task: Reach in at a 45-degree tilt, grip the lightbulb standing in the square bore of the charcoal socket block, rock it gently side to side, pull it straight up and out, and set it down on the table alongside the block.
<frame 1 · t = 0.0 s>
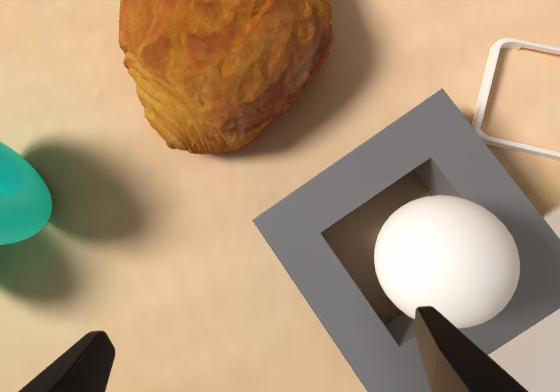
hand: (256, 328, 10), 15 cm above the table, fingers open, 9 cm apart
socket block: (397, 245, 24), on the table
cyan rounded piece: (5, 215, 27), on the table
lightbulb: (397, 244, 24), resting in socket block
croissant: (228, 55, 26), on the table
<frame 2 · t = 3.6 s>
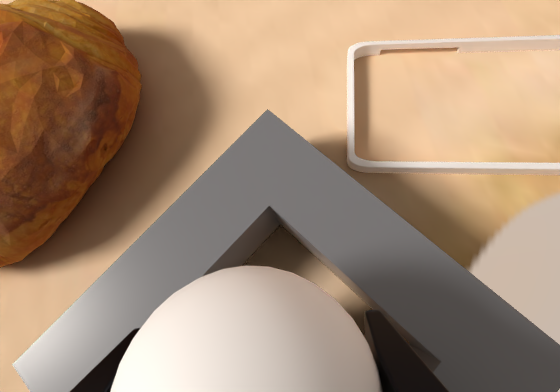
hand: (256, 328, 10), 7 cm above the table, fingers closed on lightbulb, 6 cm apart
socket block: (283, 344, 16), on the table
lightbulb: (284, 344, 16), resting in socket block, touching gripper
phone case: (487, 114, 18), on the table
croissant: (37, 138, 21), on the table
when the fingers open (7 cm above the table, at t = 10.3 s): lightbulb stays where it is, on the table.
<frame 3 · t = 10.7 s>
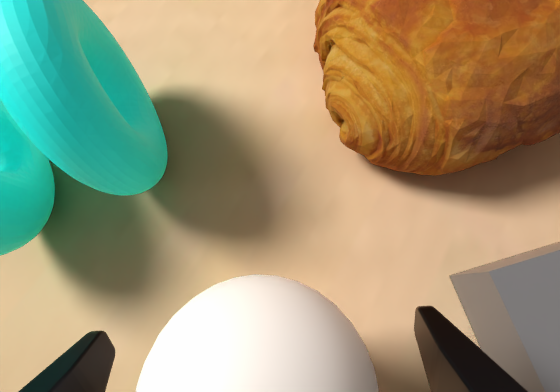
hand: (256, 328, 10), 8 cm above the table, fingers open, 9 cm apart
cyan rounded piece: (95, 165, 21), on the table
lightbulb: (286, 344, 17), on the table
croissant: (436, 62, 20), on the table
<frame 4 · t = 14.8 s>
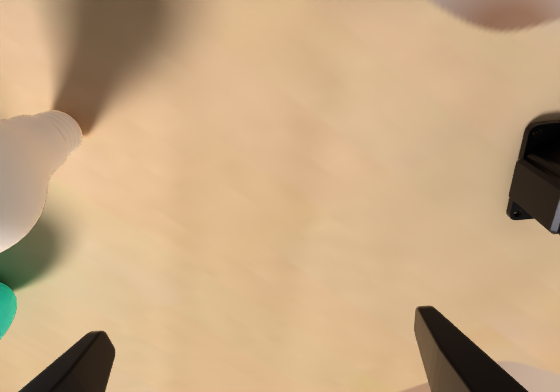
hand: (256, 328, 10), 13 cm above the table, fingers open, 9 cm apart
lightbulb: (70, 126, 21), on the table
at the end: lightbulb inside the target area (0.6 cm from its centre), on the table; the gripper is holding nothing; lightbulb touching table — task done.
